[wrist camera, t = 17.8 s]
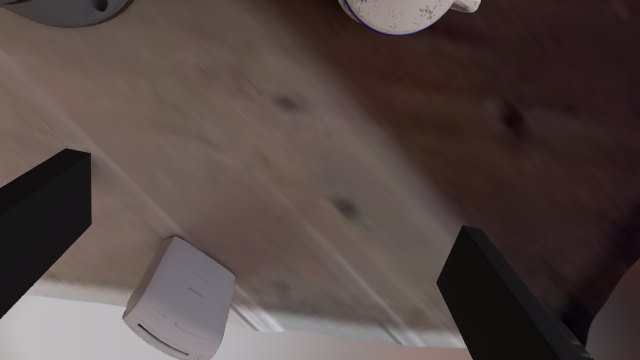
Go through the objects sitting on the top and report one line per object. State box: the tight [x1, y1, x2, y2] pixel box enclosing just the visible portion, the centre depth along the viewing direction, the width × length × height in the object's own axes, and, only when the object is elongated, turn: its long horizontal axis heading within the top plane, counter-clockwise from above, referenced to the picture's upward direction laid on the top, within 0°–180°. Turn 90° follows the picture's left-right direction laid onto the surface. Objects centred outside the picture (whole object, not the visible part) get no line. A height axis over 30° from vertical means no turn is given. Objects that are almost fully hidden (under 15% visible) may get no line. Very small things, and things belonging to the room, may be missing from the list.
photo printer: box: [122, 236, 236, 360], centre depth 41 cm, size 10×4×12 cm, turn 45°
